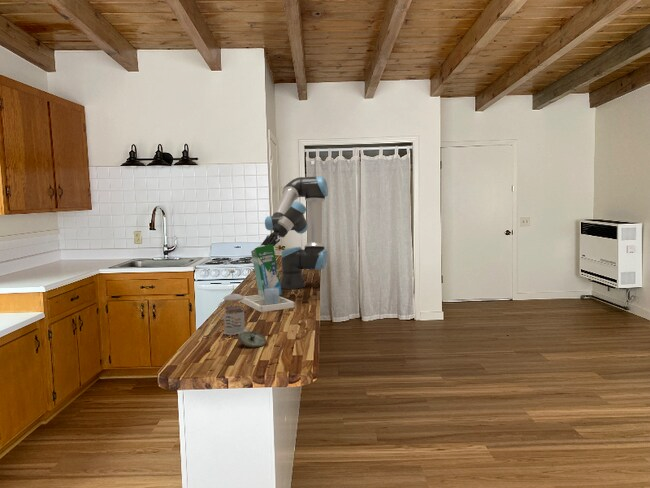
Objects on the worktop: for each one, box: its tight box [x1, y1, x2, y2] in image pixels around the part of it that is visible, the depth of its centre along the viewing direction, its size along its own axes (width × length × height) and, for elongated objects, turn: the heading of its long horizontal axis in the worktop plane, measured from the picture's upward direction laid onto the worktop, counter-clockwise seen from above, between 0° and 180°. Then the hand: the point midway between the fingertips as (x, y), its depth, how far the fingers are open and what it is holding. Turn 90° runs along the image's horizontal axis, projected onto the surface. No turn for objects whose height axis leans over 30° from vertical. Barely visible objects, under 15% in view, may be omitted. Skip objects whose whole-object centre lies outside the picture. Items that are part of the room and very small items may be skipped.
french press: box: [217, 269, 248, 336], centre depth 209 cm, size 10×12×25 cm
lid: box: [236, 330, 267, 348], centre depth 190 cm, size 11×10×5 cm
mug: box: [264, 287, 280, 306], centre depth 248 cm, size 9×7×9 cm
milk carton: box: [251, 244, 283, 298], centre depth 257 cm, size 9×9×25 cm
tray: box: [240, 294, 295, 313], centre depth 256 cm, size 28×17×4 cm, turn 28°
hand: (252, 262), depth 258 cm, fingers closed
